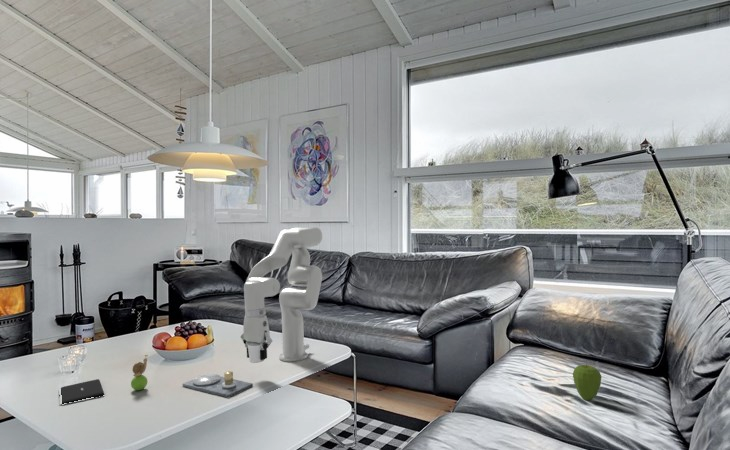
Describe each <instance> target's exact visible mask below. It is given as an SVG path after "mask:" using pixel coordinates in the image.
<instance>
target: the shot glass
mask: <svg viewBox="0 0 730 450" xmlns="http://www.w3.org/2000/svg"><path fill="white" fill-rule="evenodd" d="M247 345H248V352H249V363H252V364H255V363H256V364H258V363H262V362H264V361H265V360H266V359H264V360H260V350H261V347H260V345H259V343H256V342H249V343H248V344H247ZM263 346H264V343H263Z"/></svg>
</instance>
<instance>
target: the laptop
mask: <svg viewBox="0 0 730 450" xmlns="http://www.w3.org/2000/svg"><path fill="white" fill-rule="evenodd" d="M60 389H61V395H62V404H64V403H69V402H74V401H78V400H82V399H86V398H91V397H94V399H96V398H95V397H98V398H100V397H99V396H103V395H105V391H104V389H103V387H102V383H101V380H100V379H93V380H87V381H83V382H78V383H75V384H74V383H73V384H70V385H65V386H62V387H60ZM103 397H104V396H103Z"/></svg>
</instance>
